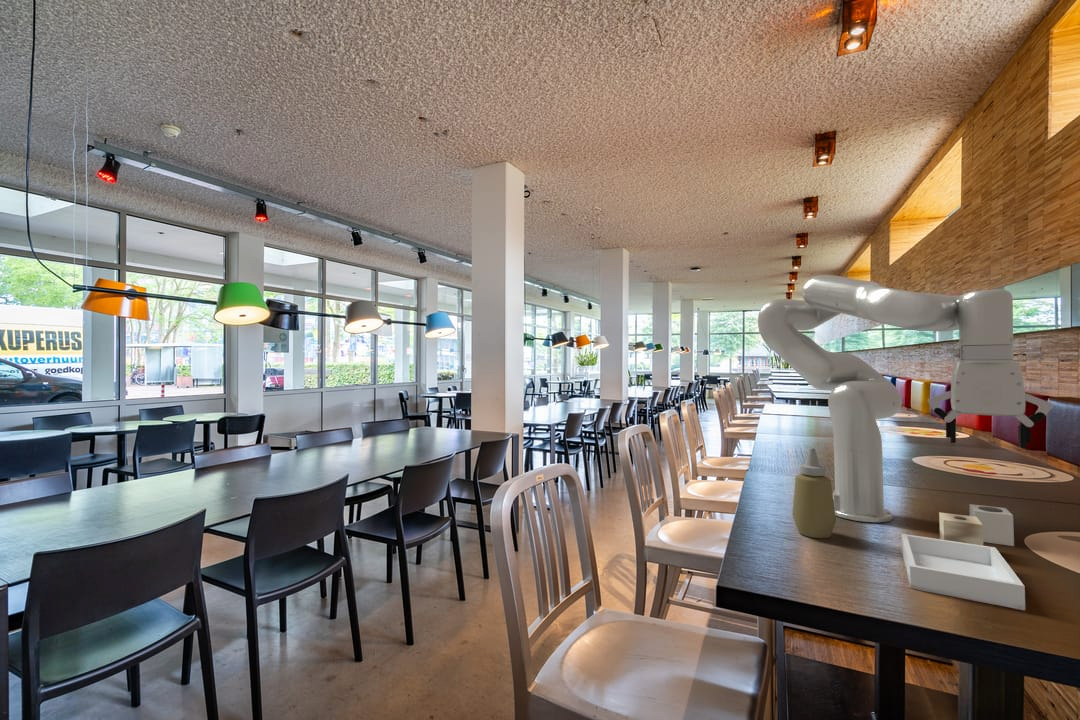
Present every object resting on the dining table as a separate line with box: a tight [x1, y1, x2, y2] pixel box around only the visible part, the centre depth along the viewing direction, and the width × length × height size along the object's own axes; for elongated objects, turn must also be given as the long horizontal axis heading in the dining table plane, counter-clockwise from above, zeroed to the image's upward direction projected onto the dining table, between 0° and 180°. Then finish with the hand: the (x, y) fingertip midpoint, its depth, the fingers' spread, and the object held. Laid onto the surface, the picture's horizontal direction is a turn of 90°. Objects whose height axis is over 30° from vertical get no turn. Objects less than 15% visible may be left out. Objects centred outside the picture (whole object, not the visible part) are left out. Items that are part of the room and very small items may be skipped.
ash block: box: [938, 511, 984, 546], centre depth 90 cm, size 6×6×6 cm
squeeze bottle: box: [792, 447, 837, 539], centre depth 99 cm, size 8×8×18 cm
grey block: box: [968, 503, 1015, 547], centre depth 95 cm, size 6×6×6 cm
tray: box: [900, 533, 1026, 611], centre depth 78 cm, size 13×17×4 cm
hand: (986, 444), depth 90 cm, fingers open, 9 cm apart
